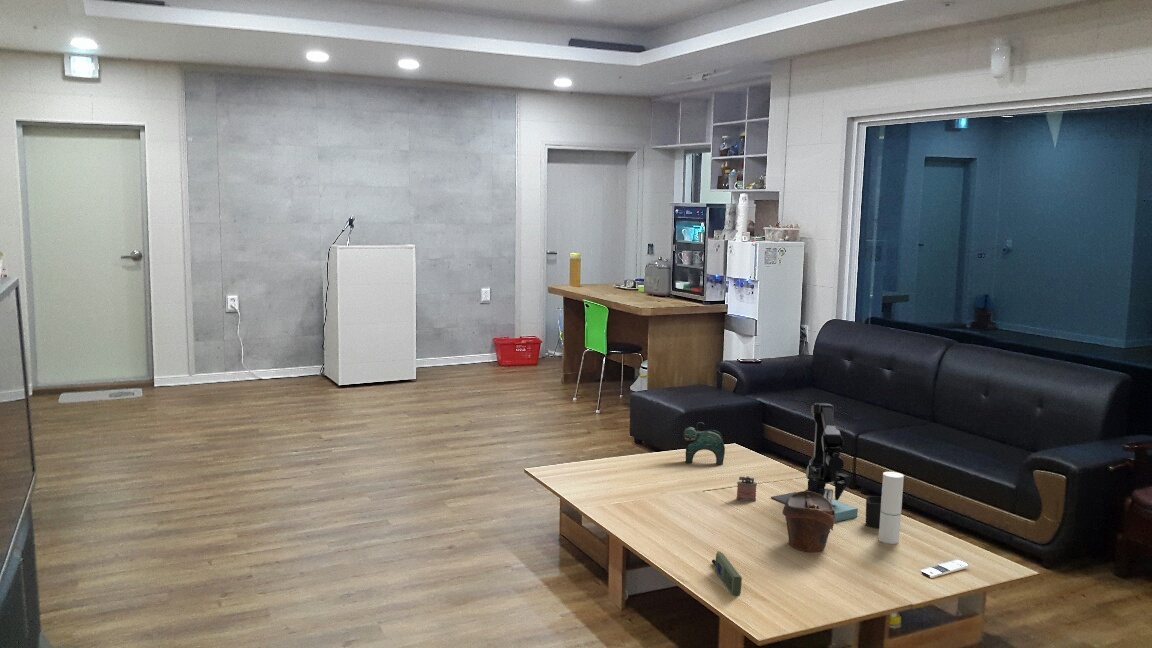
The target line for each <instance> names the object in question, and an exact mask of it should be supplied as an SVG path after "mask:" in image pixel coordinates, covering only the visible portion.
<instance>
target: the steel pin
mask: <svg viewBox="0 0 1152 648" xmlns="http://www.w3.org/2000/svg"><path fill="white" fill-rule="evenodd" d="M825 489H826V490H825V493H824V497H825V498H826V499H827V500H828V501H829V502H830V503H831V505H832V499H834V498H833V495H834V489H832V488H828V487H827V488H825Z"/></svg>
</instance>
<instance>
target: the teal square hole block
mask: <svg viewBox="0 0 1152 648" xmlns="http://www.w3.org/2000/svg"><path fill="white" fill-rule="evenodd" d="M824 498H825V496H824ZM832 507H833V509H834V511H835V519H834V523H835V522H841V521H845V520H849V519H854V518H858V513H859V511H858V509H859V508H857V507H855V506H852V505H850V504H847V503H845V502H843V501H839V500H835V498H832Z"/></svg>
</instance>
